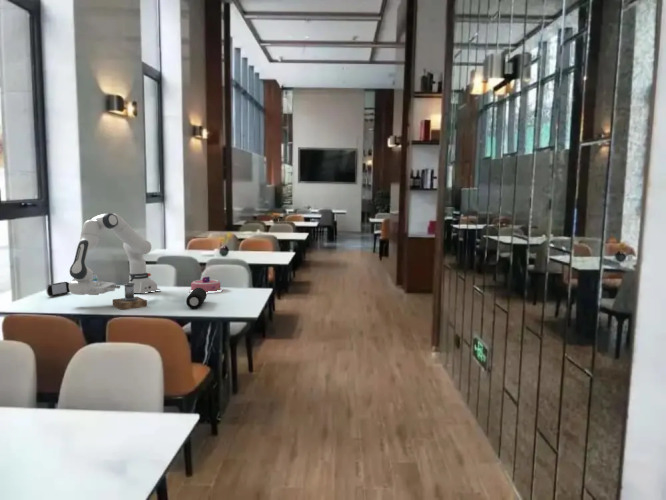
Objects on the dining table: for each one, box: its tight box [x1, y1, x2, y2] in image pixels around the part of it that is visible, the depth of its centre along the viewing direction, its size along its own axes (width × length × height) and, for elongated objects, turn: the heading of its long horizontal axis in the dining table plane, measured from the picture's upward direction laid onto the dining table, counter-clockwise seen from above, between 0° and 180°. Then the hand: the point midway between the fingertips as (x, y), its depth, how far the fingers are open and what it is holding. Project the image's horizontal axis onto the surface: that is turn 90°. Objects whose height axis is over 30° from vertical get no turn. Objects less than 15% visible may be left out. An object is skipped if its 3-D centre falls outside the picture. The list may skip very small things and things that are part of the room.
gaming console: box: [45, 281, 71, 298], centre depth 391 cm, size 19×9×2 cm
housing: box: [123, 282, 136, 300], centre depth 356 cm, size 7×7×10 cm
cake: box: [190, 276, 221, 292], centre depth 413 cm, size 25×25×11 cm
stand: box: [112, 296, 148, 310], centre depth 357 cm, size 16×16×4 cm
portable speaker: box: [186, 288, 208, 309], centre depth 361 cm, size 26×10×10 cm, turn 5°
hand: (117, 288), depth 356 cm, fingers open, 8 cm apart
